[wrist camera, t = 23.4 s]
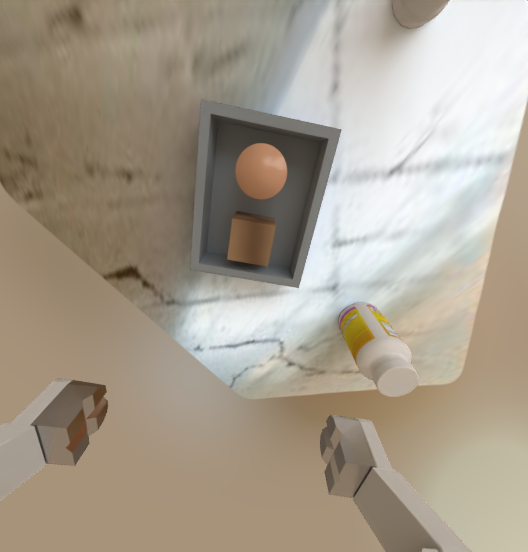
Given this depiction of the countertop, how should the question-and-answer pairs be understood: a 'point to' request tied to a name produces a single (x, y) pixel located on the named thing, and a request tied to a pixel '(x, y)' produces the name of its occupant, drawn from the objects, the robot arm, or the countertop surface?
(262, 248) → the cube
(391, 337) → the supplement bottle
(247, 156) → the cylinder
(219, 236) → the tote
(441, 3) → the bottle
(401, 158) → the countertop surface
